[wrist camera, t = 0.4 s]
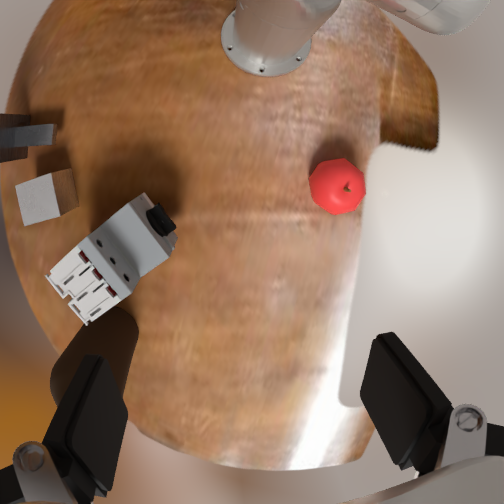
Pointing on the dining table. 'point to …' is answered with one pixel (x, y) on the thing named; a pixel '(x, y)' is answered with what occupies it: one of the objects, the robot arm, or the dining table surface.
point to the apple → (337, 186)
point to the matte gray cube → (47, 196)
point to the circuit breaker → (114, 258)
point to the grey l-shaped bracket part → (22, 136)
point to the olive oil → (98, 349)
